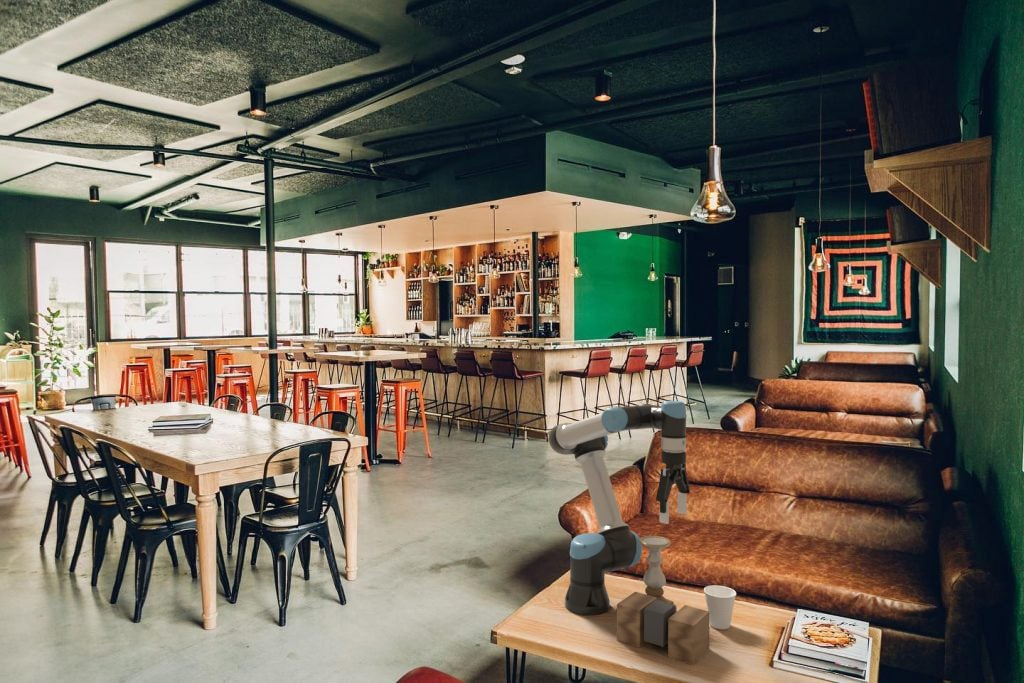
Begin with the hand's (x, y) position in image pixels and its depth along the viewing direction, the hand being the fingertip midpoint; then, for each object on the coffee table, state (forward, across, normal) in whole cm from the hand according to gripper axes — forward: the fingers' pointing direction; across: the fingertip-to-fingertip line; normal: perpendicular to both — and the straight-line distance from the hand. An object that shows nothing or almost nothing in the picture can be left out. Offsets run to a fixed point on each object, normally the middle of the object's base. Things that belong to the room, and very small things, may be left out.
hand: (673, 518), depth 202 cm
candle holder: (+35, +8, +10) cm, 37 cm away
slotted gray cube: (+32, -14, -2) cm, 35 cm away
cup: (+35, +11, -11) cm, 38 cm away
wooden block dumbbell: (+35, -12, -2) cm, 37 cm away
